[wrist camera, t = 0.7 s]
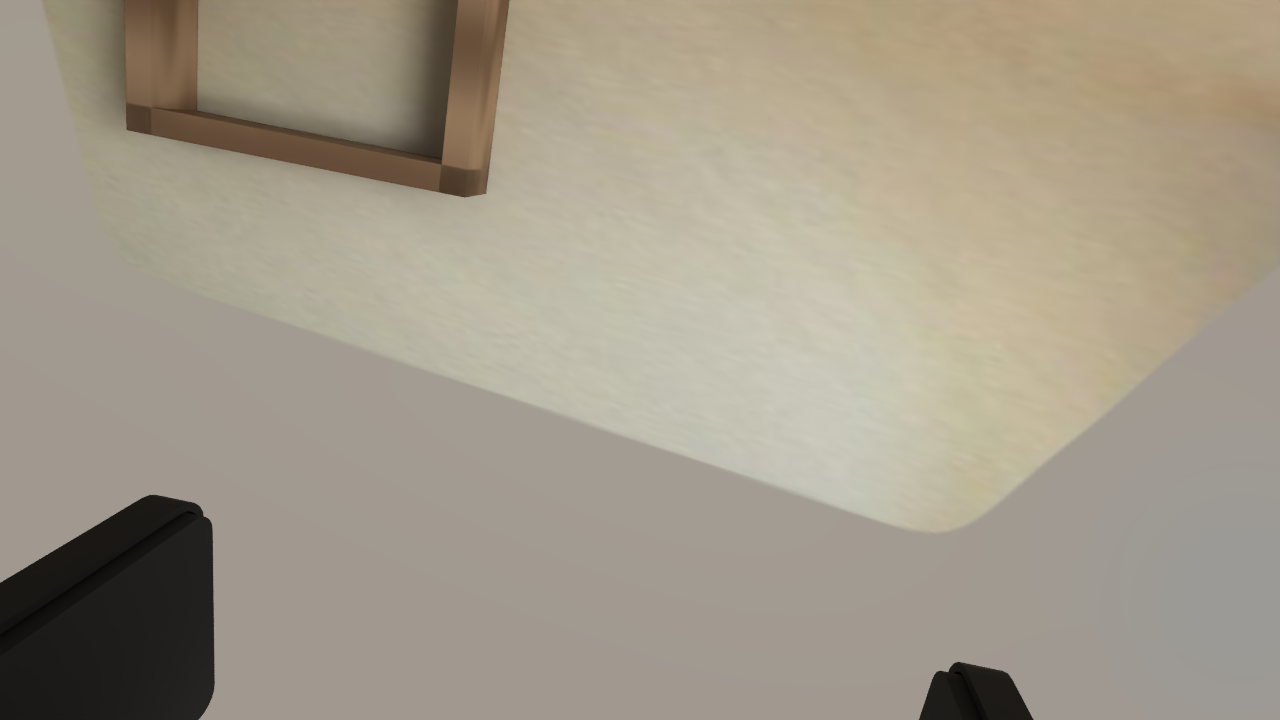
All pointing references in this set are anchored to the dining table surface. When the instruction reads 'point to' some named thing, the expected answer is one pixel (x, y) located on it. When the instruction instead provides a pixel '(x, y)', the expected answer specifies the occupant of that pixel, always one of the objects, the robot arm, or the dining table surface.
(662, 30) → the dining table surface
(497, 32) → the bay
